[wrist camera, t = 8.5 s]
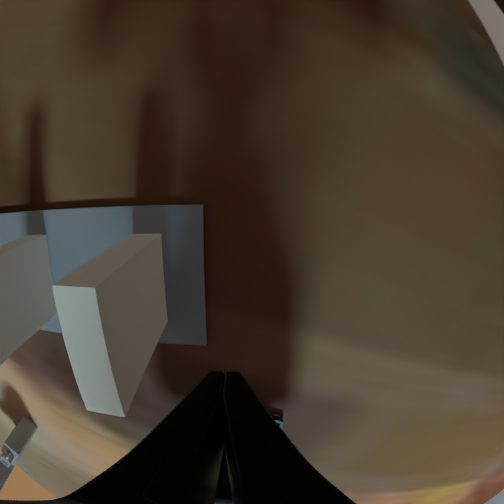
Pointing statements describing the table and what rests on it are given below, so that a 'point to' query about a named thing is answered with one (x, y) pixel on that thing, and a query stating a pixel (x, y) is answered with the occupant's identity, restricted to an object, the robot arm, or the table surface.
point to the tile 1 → (24, 291)
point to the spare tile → (113, 320)
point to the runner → (115, 230)
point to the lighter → (15, 447)
